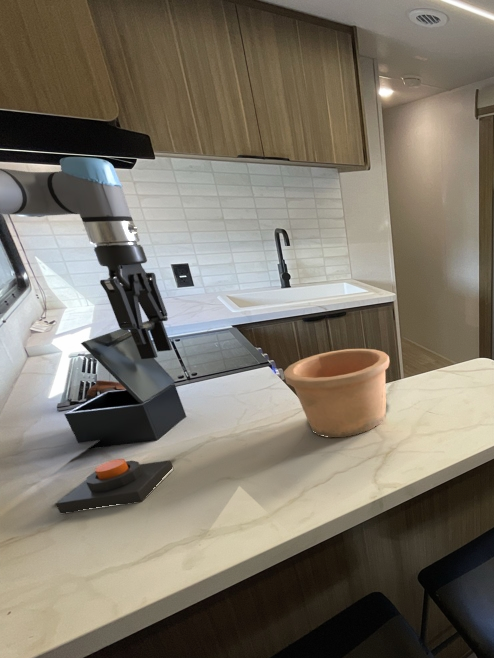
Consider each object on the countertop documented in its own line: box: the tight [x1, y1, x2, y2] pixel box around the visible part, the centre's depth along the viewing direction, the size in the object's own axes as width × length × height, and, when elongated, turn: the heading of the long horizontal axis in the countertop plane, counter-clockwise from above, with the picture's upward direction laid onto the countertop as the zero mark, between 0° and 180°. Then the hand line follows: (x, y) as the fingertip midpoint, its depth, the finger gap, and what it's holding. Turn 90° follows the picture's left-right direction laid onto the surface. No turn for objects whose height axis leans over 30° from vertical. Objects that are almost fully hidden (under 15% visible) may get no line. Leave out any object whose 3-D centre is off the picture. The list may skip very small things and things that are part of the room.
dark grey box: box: [64, 383, 187, 450], centre depth 92 cm, size 15×13×9 cm
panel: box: [54, 460, 174, 514], centre depth 71 cm, size 12×10×4 cm
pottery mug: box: [85, 380, 125, 403], centre depth 109 cm, size 12×10×8 cm
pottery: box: [283, 348, 390, 438], centre depth 91 cm, size 22×22×14 cm
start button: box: [94, 458, 129, 480], centre depth 70 cm, size 4×4×2 cm
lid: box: [80, 320, 176, 404], centre depth 89 cm, size 15×13×9 cm
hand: (157, 353), depth 89 cm, fingers closed on lid, 5 cm apart
